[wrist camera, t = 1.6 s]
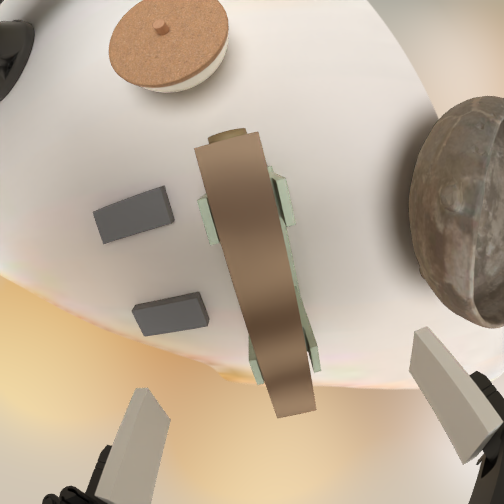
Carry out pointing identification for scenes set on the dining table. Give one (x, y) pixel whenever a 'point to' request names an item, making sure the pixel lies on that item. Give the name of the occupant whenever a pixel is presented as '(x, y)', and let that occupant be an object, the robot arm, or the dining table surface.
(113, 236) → the rests
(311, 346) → the rack
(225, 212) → the rail
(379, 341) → the dining table surface
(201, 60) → the lidded jar
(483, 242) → the bowl
